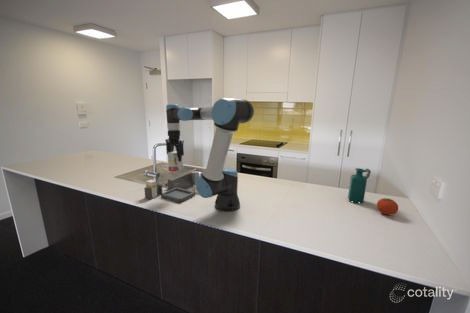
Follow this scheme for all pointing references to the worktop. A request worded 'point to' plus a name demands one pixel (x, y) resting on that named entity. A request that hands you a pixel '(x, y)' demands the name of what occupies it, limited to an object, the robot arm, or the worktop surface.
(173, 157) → the ink box
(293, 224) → the worktop surface
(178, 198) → the tray
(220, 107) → the robot arm
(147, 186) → the clip holder
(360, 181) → the green bottle
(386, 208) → the tomato
